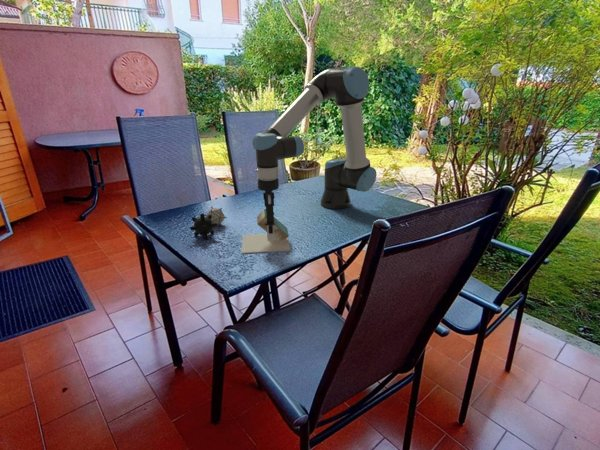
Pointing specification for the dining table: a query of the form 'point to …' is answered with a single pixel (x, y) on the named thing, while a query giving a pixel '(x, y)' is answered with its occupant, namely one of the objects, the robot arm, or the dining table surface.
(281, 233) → the green and tan block
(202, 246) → the dining table surface
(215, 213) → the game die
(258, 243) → the mat
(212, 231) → the toy ball
